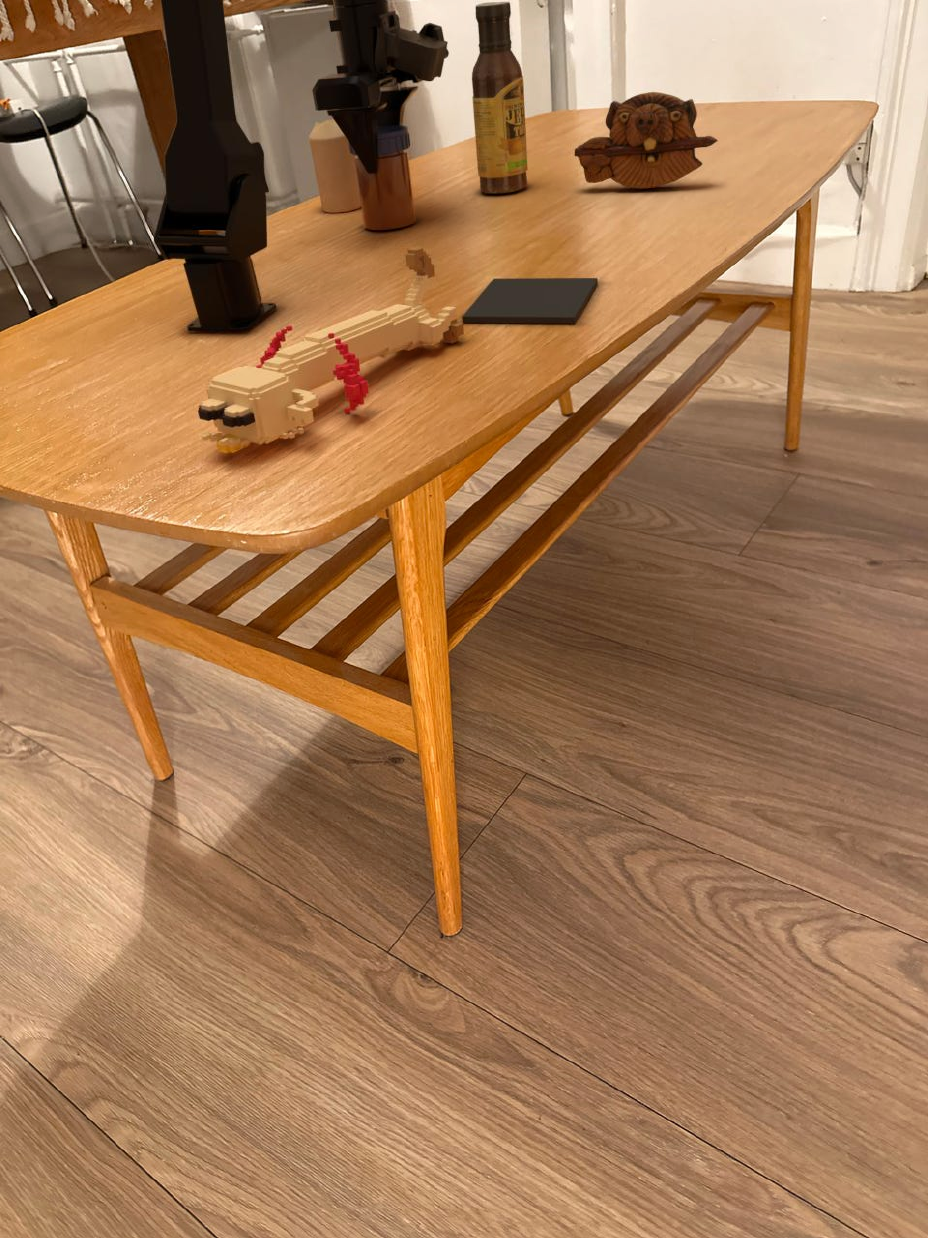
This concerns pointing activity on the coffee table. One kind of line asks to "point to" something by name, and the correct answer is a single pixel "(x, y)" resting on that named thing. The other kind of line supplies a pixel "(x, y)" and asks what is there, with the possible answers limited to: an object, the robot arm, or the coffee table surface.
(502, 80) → the sauce bottle
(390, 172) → the jar
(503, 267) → the coffee table surface
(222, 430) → the voxel animal figurine
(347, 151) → the candle
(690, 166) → the wooden carving
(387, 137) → the lid
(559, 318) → the mat
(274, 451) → the coffee table surface
